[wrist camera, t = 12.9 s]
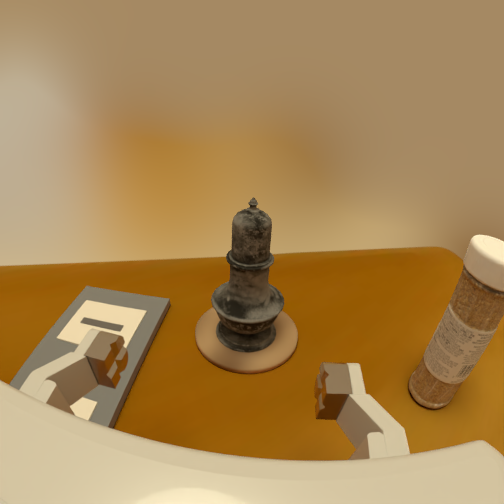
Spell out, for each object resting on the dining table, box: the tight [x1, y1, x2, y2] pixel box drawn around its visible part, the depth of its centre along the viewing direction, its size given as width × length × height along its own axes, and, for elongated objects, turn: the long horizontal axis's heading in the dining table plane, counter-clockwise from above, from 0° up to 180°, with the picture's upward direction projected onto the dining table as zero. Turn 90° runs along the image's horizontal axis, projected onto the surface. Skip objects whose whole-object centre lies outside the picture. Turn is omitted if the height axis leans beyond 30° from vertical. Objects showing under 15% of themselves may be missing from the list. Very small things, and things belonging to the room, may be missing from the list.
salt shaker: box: [211, 198, 284, 353], centre depth 24 cm, size 6×6×12 cm
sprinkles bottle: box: [409, 235, 504, 409], centre depth 18 cm, size 5×5×14 cm
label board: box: [9, 286, 170, 429], centre depth 20 cm, size 10×22×1 cm, turn 175°
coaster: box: [195, 307, 298, 374], centre depth 27 cm, size 9×9×1 cm
